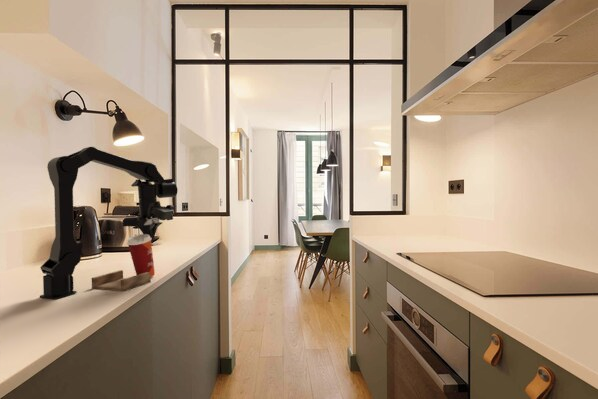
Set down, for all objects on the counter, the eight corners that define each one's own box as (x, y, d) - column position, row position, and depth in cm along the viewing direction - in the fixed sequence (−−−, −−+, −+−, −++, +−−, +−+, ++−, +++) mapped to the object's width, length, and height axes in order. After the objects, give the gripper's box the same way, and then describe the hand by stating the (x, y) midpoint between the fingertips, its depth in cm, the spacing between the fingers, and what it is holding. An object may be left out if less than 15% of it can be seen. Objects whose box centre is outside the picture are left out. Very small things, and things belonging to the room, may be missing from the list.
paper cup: (160, 275, 119) (153, 237, 116) (136, 283, 115) (127, 242, 112) (155, 268, 126) (148, 231, 123) (132, 275, 122) (124, 237, 118)
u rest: (124, 291, 103) (123, 280, 103) (91, 288, 107) (91, 277, 107) (150, 281, 114) (150, 272, 114) (120, 279, 118) (120, 270, 118)
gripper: (147, 200, 110) (151, 249, 111) (183, 196, 128) (186, 238, 129) (119, 201, 114) (123, 248, 115) (158, 197, 132) (161, 238, 133)
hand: (150, 243), depth 123 cm, fingers closed
